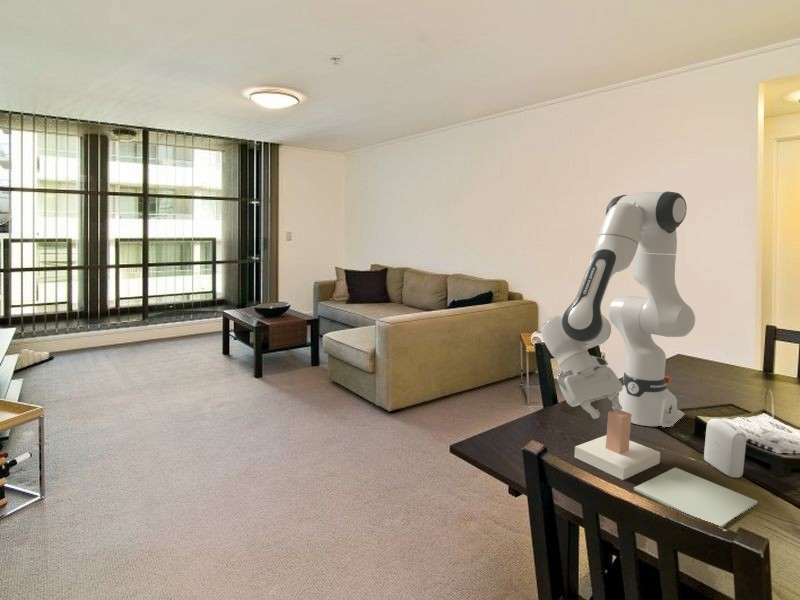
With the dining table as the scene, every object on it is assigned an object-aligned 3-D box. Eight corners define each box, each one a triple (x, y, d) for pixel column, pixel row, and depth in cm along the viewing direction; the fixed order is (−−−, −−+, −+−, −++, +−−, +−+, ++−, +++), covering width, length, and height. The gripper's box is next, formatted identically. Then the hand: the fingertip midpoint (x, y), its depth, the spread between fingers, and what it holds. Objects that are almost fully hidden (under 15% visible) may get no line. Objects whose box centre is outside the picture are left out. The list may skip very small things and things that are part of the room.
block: (614, 444, 128) (617, 409, 127) (628, 450, 125) (631, 413, 124) (605, 448, 126) (608, 412, 125) (619, 454, 123) (622, 417, 122)
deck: (610, 443, 136) (611, 433, 136) (659, 463, 125) (660, 452, 124) (574, 457, 128) (574, 446, 127) (622, 480, 116) (623, 468, 116)
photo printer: (700, 458, 127) (704, 414, 125) (716, 458, 127) (720, 414, 125) (728, 478, 117) (734, 430, 115) (745, 478, 117) (751, 430, 115)
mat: (675, 469, 121) (675, 467, 121) (757, 503, 106) (757, 501, 106) (633, 489, 112) (633, 487, 112) (717, 530, 97) (718, 527, 97)
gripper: (561, 368, 126) (591, 416, 119) (609, 358, 137) (639, 401, 130) (547, 380, 130) (575, 427, 124) (594, 369, 141) (622, 411, 134)
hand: (608, 413), depth 127 cm, fingers open, 8 cm apart
